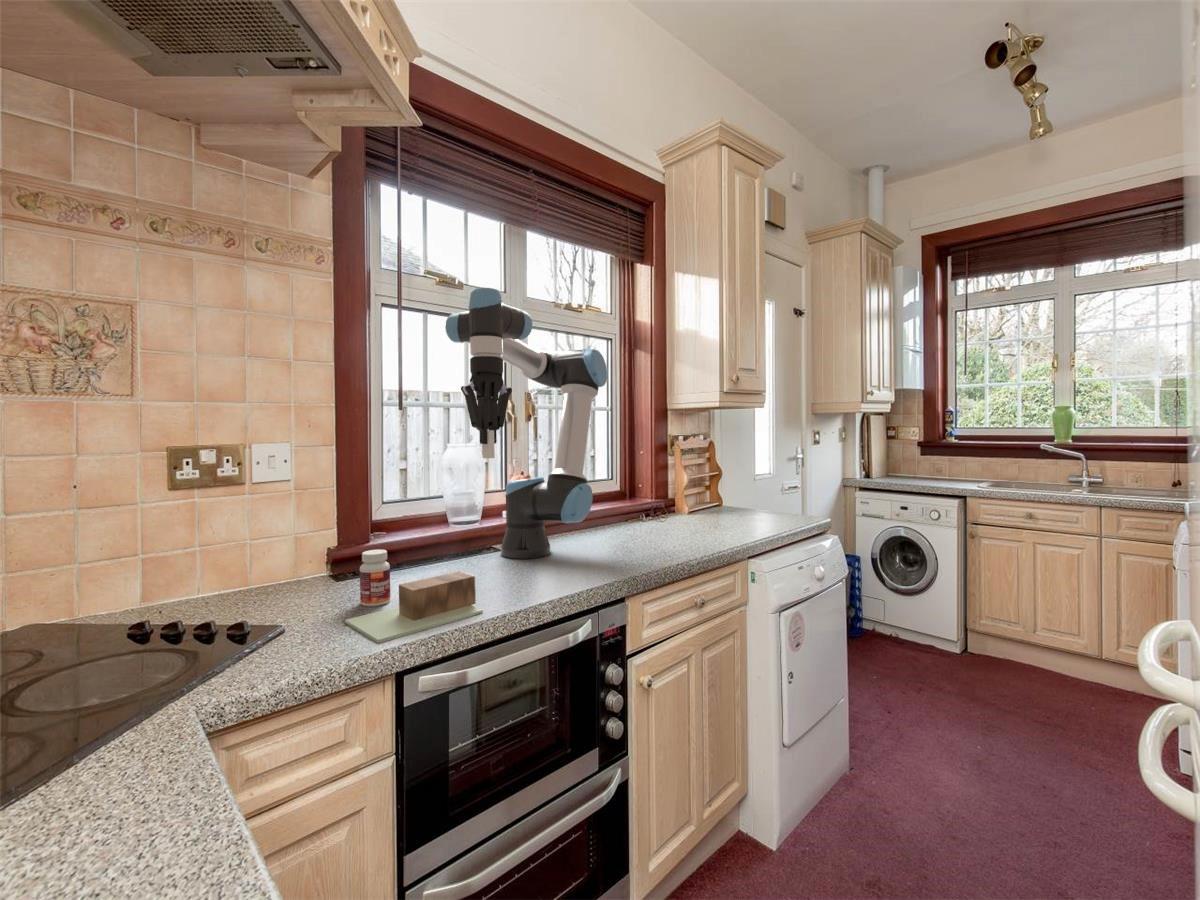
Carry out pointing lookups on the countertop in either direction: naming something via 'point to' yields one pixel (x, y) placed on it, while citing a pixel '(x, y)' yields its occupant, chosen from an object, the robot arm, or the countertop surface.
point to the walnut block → (436, 595)
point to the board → (403, 622)
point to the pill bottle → (374, 578)
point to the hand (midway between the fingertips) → (488, 457)
